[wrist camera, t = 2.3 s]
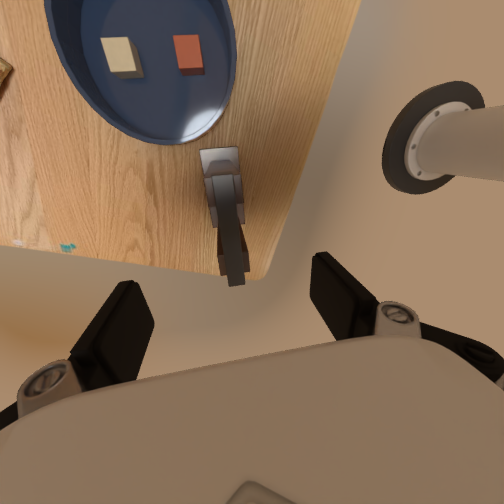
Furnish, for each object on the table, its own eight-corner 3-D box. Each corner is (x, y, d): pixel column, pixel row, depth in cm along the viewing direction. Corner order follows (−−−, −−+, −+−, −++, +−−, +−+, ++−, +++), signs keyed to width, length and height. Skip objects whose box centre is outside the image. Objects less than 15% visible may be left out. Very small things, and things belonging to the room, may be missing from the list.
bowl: (222, -49, 24) (224, -99, 19) (240, 139, 33) (243, 138, 28) (44, -50, 22) (-6, -105, 17) (114, 150, 31) (95, 150, 26)
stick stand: (236, 146, 33) (258, 147, 16) (244, 221, 39) (265, 283, 22) (199, 149, 32) (177, 154, 15) (213, 225, 39) (208, 292, 21)
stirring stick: (231, 171, 16) (233, 173, 15) (243, 275, 21) (245, 284, 19) (211, 173, 16) (210, 175, 14) (228, 277, 21) (228, 287, 19)
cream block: (136, 47, 26) (127, 36, 23) (144, 77, 27) (136, 70, 25) (111, 48, 25) (99, 37, 23) (121, 79, 27) (110, 72, 24)
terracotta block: (200, 45, 27) (198, 34, 24) (204, 74, 28) (203, 67, 25) (177, 46, 26) (172, 34, 24) (182, 75, 28) (178, 68, 25)
